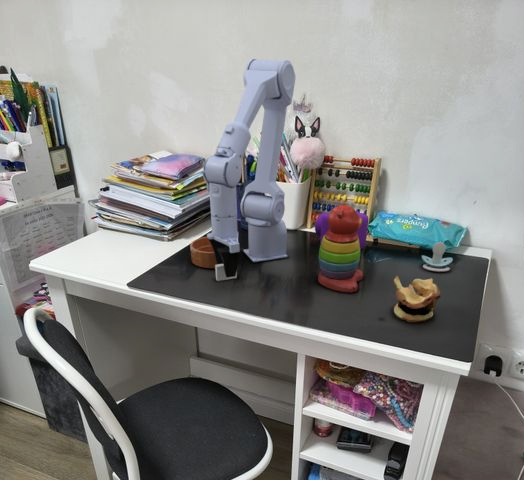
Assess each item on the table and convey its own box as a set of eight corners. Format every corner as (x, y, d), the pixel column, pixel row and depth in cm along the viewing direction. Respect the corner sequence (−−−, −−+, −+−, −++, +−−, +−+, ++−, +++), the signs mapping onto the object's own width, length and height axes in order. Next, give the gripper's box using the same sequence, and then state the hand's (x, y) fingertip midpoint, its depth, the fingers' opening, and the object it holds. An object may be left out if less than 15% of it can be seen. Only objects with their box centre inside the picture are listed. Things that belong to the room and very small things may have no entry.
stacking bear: (355, 294, 111) (364, 216, 101) (311, 287, 114) (316, 210, 104) (364, 275, 119) (373, 201, 109) (323, 269, 122) (328, 196, 112)
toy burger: (429, 331, 97) (438, 293, 93) (381, 320, 101) (386, 283, 97) (441, 305, 106) (449, 270, 102) (395, 296, 110) (401, 261, 105)
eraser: (215, 279, 117) (215, 264, 115) (235, 275, 119) (234, 261, 117) (217, 281, 116) (216, 266, 114) (236, 278, 118) (236, 263, 116)
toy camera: (325, 235, 141) (328, 200, 136) (369, 246, 135) (374, 209, 129) (305, 247, 134) (307, 210, 128) (350, 259, 127) (355, 221, 122)
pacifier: (451, 275, 120) (450, 264, 125) (457, 250, 116) (455, 240, 121) (420, 272, 121) (419, 261, 126) (425, 248, 117) (424, 238, 122)
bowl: (227, 250, 132) (226, 234, 130) (241, 266, 124) (240, 249, 121) (187, 256, 129) (185, 239, 126) (198, 272, 120) (196, 255, 118)
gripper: (197, 206, 114) (201, 261, 121) (216, 226, 102) (219, 286, 110) (227, 202, 116) (229, 257, 123) (248, 222, 104) (249, 281, 112)
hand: (226, 270), depth 117 cm, fingers open, 6 cm apart
